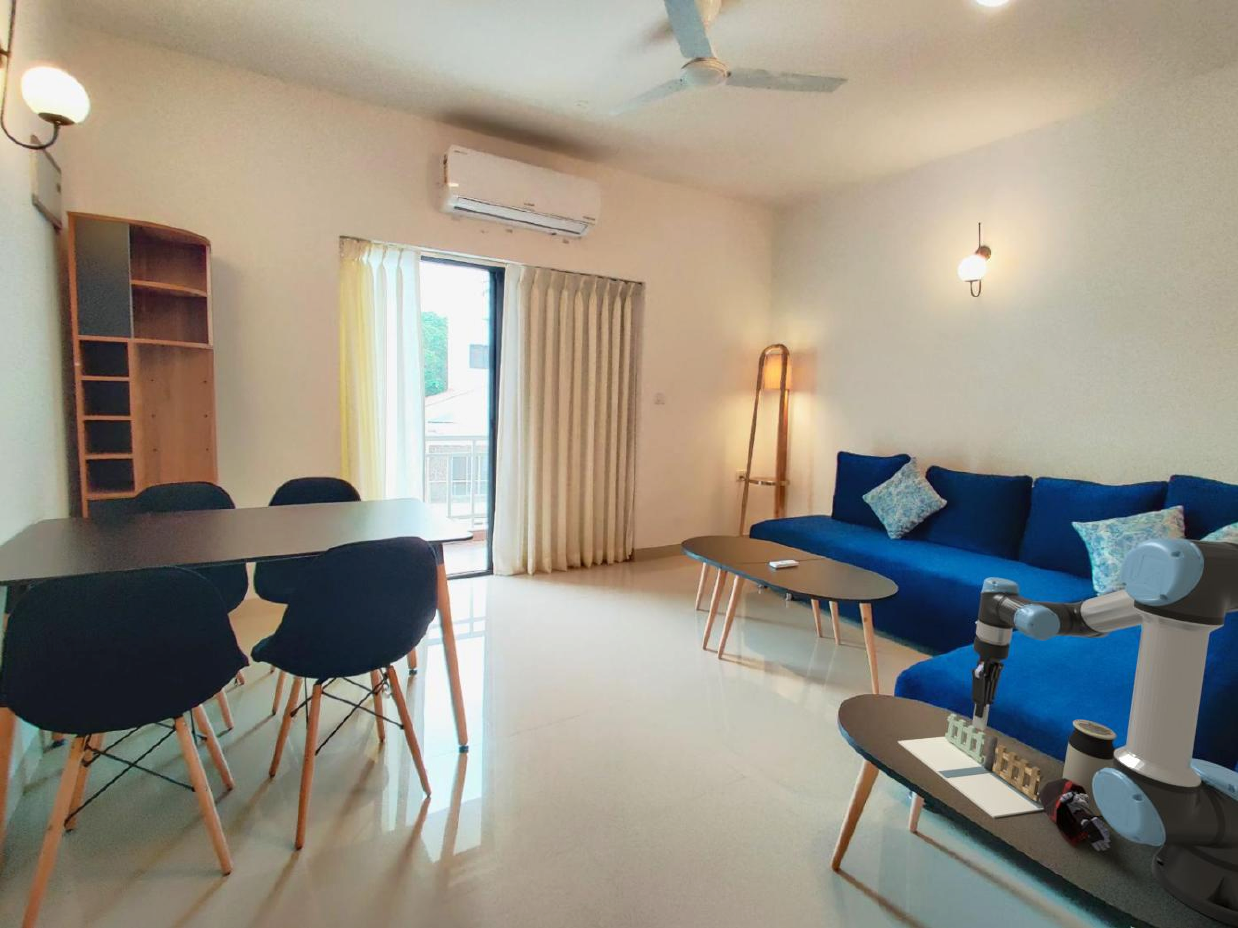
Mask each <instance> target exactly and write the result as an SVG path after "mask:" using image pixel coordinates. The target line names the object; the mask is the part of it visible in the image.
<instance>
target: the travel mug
mask: <svg viewBox="0 0 1238 928" xmlns="http://www.w3.org/2000/svg"><path fill="white" fill-rule="evenodd" d="M1072 725H1073V728H1074V729H1073V731H1071V732H1070V733H1069V736H1068V741H1067V748H1066V753H1065V761H1064V767H1063V772H1062V778H1061V779H1063V778H1066V779H1068V780H1070V781H1072V782H1074V783H1076V784H1078V785H1080V786H1082V787H1083V788H1084V790H1085V791H1086V795H1088V797H1089V800H1088V801H1087V802H1088V806H1089V808H1090V810H1091V812H1092V814H1091V813H1090V812H1089V813H1088V815H1093V816H1094V817H1099V816H1103V815H1102V813H1101V811H1100V809H1099V808H1098V806H1097V804H1096V801H1095V798H1094V795H1093V788H1092V782H1093V777H1094V775H1095V774H1096V772H1098V771H1100V770H1101V769H1104V768H1112V763H1113V756H1114V751H1115V750H1116V748H1115V746H1114V744H1113V743H1114V740H1116V738H1117V734H1116V733H1115V732H1114V731H1113V729H1110V727H1109V728H1108V727H1107V726H1105V725H1103V724H1100V723H1097V722H1095V721H1090V720H1087V719H1075V720H1073V721H1072Z"/></svg>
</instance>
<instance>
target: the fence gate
mask: <svg viewBox="0 0 1238 928" xmlns="http://www.w3.org/2000/svg"><path fill="white" fill-rule="evenodd" d="M947 722H949V723H948V729H947V732H945V733H944V737H945V738H946V739H947V740H948V741H949V742H952V743H954V744H955V745H956V746H957V747H958V748H959V749H960V748H961V749H962V750H964V751H965V753H966V754H968V755H971V756H972V757H973V758H974V759H975V760H976V761H978V762H981V763H983V762H984V757H983V756H984V755H983V753H984V746H986V745H988V739H987V738H986V734H985V732H984V731H978V732H976V730H977V728H975V727H973V726H972V724H971V725H968V726H967V721H965V720H964V719H958V716H957V715H956V714H955V713H950V715H948V716H947ZM956 728H957V733H956ZM965 734H966V739H965ZM954 736H956V737H957V738H955V737H954ZM975 740H976V743H975V748H974V742H975ZM963 742H965V743H966V745H965V744H964V743H963ZM973 749H975V751H974V750H973ZM982 755H983V756H982Z"/></svg>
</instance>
